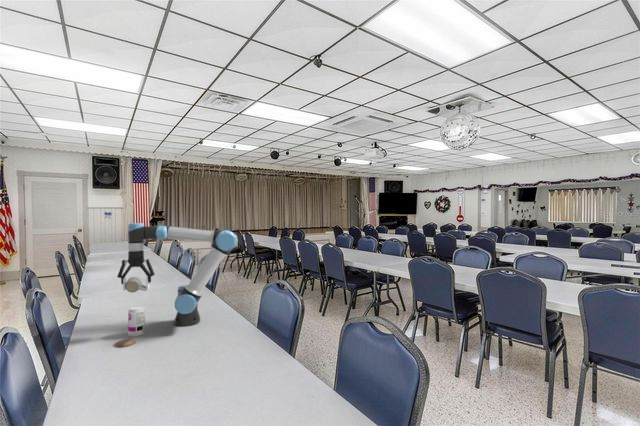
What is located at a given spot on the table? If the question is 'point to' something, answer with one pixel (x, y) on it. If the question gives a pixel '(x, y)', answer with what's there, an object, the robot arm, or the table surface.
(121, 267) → the robot arm
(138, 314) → the supplement can
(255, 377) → the table surface
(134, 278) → the ceramic mug
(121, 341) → the walnut coaster
